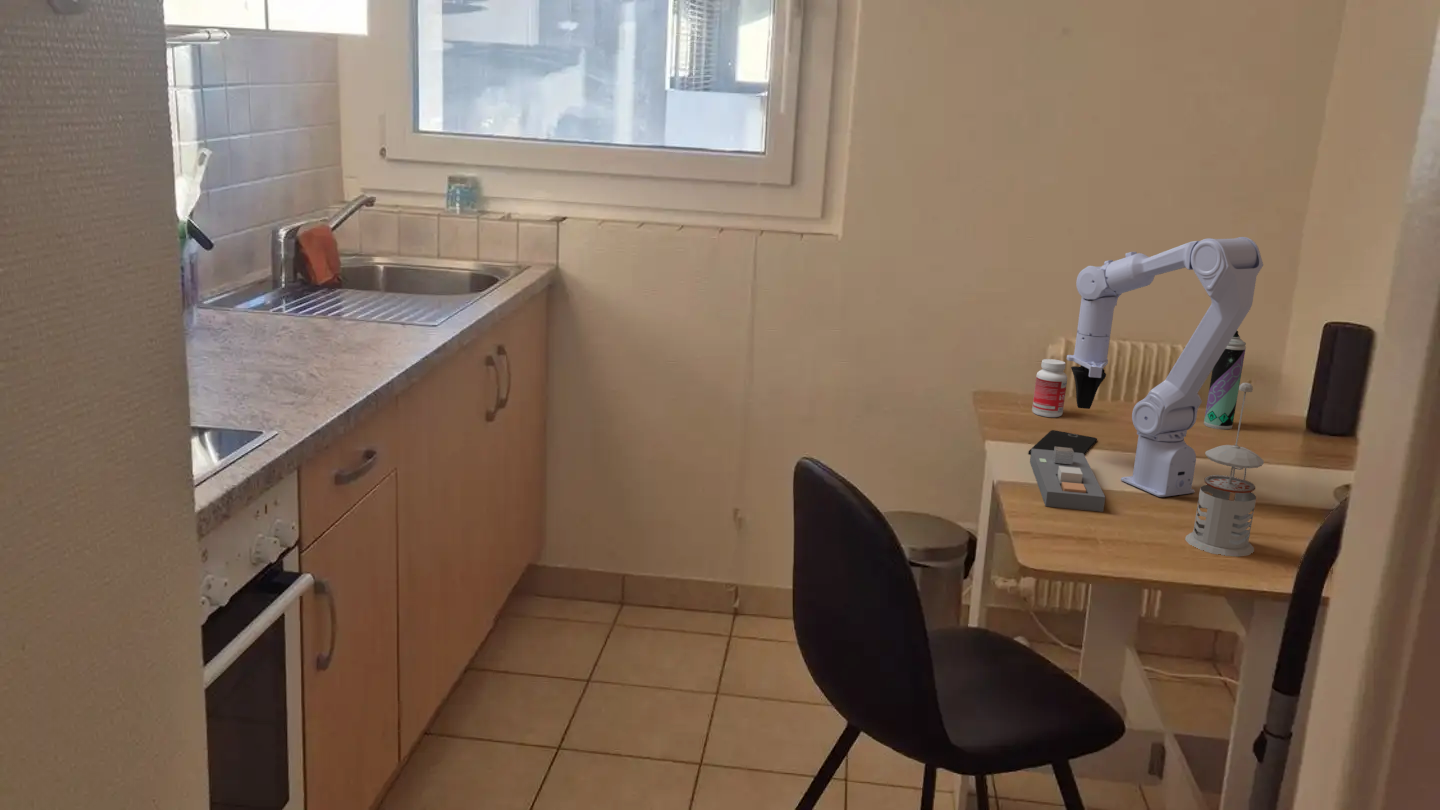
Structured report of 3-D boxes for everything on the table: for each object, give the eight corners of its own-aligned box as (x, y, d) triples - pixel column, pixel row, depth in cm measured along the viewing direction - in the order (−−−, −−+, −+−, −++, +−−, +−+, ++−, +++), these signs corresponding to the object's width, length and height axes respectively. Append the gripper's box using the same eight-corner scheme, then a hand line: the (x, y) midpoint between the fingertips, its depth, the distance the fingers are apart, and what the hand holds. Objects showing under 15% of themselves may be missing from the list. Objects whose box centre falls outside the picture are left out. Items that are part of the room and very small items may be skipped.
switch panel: (1103, 511, 199) (1105, 496, 198) (1045, 506, 200) (1047, 490, 199) (1081, 466, 222) (1083, 452, 221) (1029, 461, 223) (1031, 448, 222)
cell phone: (1097, 442, 239) (1097, 437, 239) (1076, 465, 224) (1076, 460, 223) (1051, 434, 243) (1051, 429, 243) (1027, 456, 228) (1027, 451, 227)
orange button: (1084, 504, 200) (1086, 490, 200) (1062, 502, 201) (1064, 488, 200) (1081, 497, 204) (1083, 483, 203) (1059, 495, 204) (1061, 481, 203)
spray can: (1197, 423, 256) (1213, 327, 251) (1217, 421, 258) (1233, 326, 253) (1218, 430, 251) (1234, 332, 246) (1238, 428, 253) (1254, 331, 248)
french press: (1177, 544, 186) (1203, 382, 180) (1196, 524, 196) (1222, 369, 189) (1246, 561, 181) (1276, 395, 175) (1263, 539, 191) (1291, 381, 184)
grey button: (1080, 488, 205) (1082, 474, 204) (1059, 486, 205) (1061, 472, 205) (1077, 481, 208) (1079, 468, 208) (1057, 479, 209) (1058, 466, 208)
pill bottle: (1062, 419, 253) (1069, 366, 250) (1031, 415, 254) (1037, 362, 251) (1062, 412, 258) (1069, 360, 255) (1032, 408, 260) (1038, 356, 257)
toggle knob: (1072, 464, 214) (1074, 452, 213) (1054, 462, 214) (1056, 450, 213) (1070, 460, 216) (1072, 448, 215) (1052, 458, 216) (1054, 446, 216)
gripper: (1065, 323, 229) (1055, 395, 232) (1076, 340, 215) (1066, 416, 218) (1104, 327, 228) (1094, 399, 231) (1118, 343, 214) (1107, 419, 218)
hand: (1083, 407), depth 225 cm, fingers closed
